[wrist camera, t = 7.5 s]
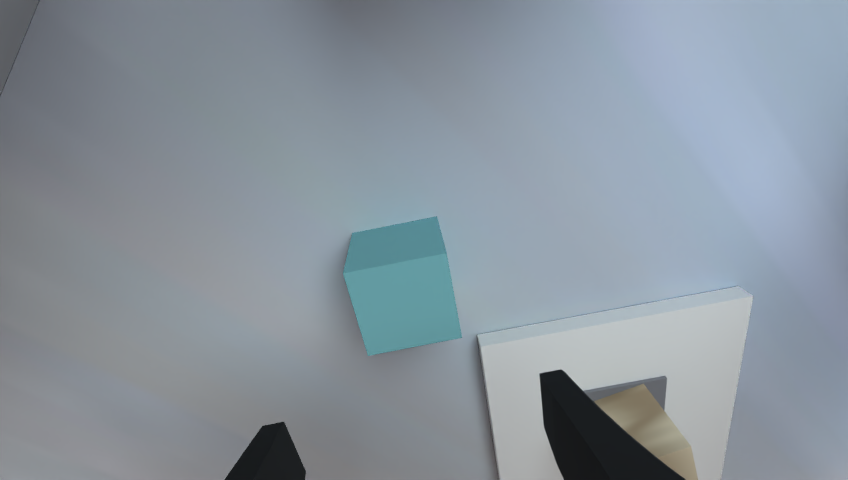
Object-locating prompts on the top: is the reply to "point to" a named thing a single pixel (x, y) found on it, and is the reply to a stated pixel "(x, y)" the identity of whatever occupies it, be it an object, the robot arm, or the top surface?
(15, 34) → the tall grey pillar
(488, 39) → the top surface
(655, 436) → the birch brick
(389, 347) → the teal brick
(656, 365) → the baseplate
